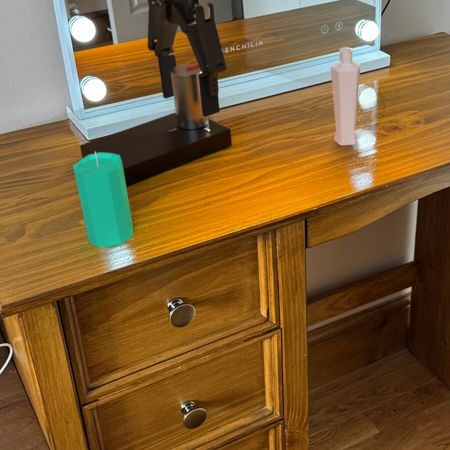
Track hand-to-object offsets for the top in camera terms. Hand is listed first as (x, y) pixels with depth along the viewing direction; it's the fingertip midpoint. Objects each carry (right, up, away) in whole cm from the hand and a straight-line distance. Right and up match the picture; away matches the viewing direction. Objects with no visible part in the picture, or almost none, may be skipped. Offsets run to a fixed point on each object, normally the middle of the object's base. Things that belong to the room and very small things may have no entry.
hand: (190, 104), depth 121 cm
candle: (-7, -21, -21) cm, 30 cm away
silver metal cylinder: (0, -3, +2) cm, 3 cm away
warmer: (-5, -8, -1) cm, 9 cm away
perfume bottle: (+25, -6, +1) cm, 26 cm away
